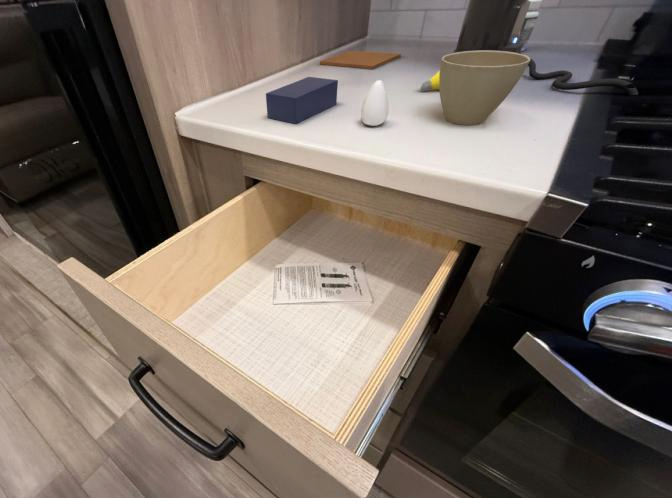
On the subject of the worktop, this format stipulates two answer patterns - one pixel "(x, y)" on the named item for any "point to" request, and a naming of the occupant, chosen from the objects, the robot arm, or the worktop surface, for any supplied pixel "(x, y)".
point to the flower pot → (477, 83)
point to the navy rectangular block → (301, 99)
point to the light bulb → (431, 83)
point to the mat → (360, 59)
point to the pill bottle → (529, 23)
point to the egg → (375, 105)
